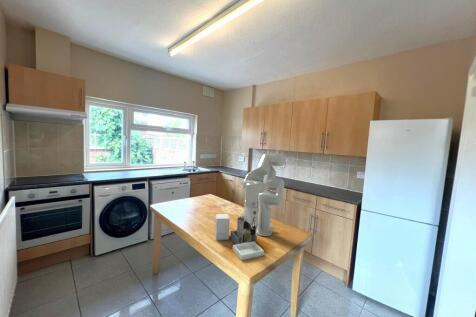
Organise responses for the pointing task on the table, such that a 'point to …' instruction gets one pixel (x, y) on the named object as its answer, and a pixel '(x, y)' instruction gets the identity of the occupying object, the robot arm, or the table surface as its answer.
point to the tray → (248, 250)
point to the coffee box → (243, 231)
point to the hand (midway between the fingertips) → (249, 231)
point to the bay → (236, 240)
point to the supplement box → (222, 227)
